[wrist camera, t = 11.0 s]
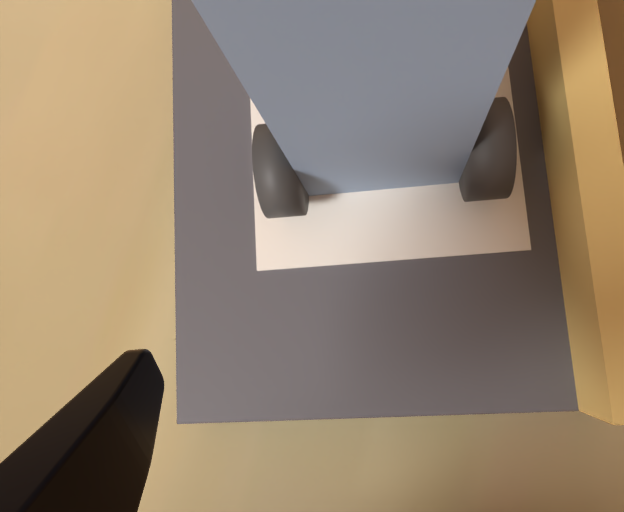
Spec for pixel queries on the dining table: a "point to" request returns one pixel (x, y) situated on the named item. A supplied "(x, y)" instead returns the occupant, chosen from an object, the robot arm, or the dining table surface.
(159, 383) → the robot arm
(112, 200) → the dining table surface
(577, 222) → the wooden frame
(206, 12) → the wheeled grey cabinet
